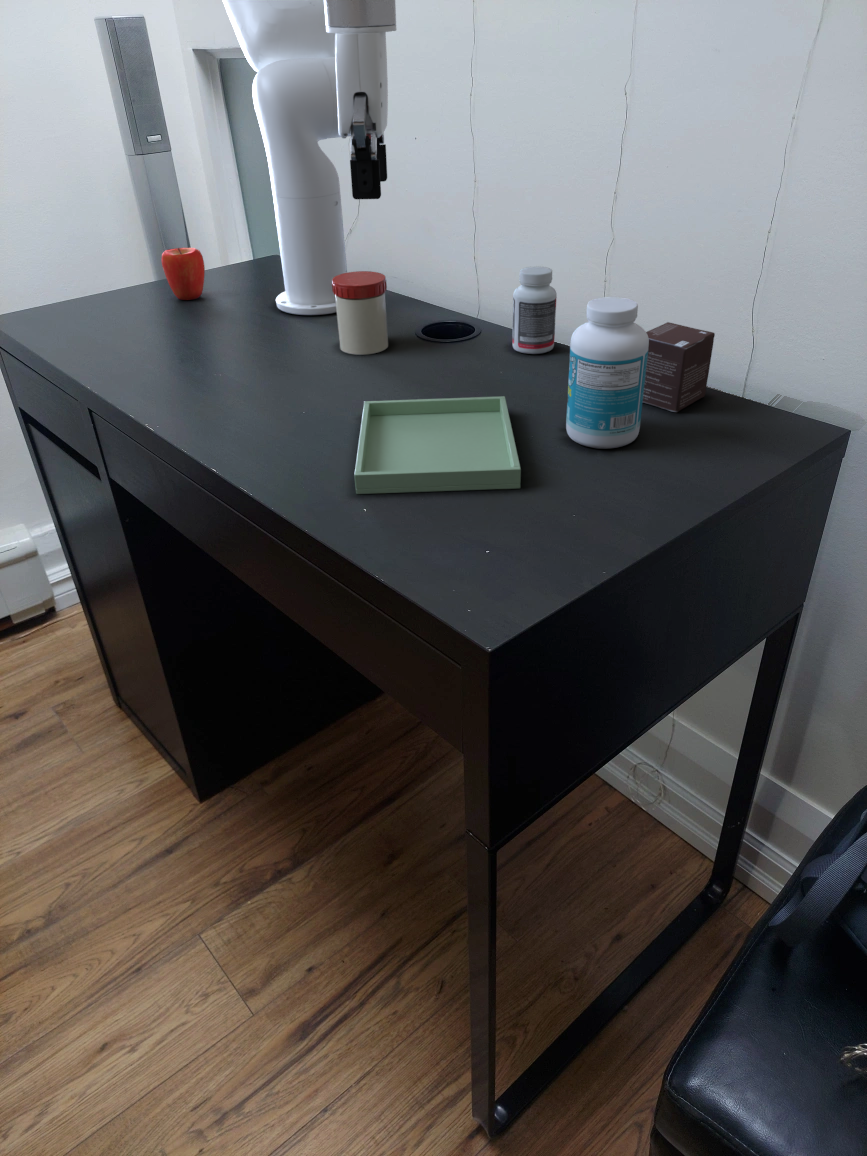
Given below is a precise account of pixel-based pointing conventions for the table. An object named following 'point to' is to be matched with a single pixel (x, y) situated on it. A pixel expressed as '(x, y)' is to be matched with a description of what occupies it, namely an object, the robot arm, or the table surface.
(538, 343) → the pill bottle
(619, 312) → the pill bottle
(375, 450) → the tray
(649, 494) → the table surface
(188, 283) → the apple
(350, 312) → the jar
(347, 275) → the cap
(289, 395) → the table surface
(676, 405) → the box
